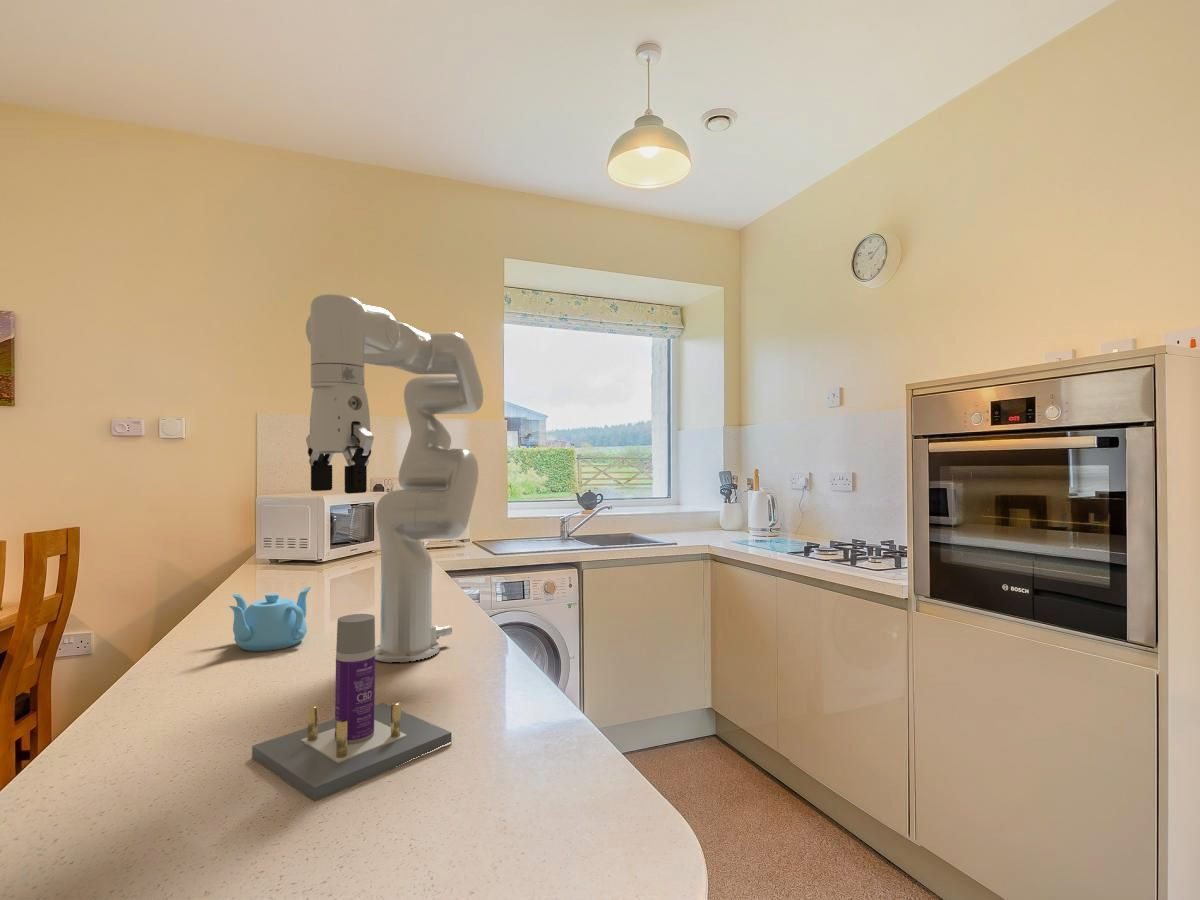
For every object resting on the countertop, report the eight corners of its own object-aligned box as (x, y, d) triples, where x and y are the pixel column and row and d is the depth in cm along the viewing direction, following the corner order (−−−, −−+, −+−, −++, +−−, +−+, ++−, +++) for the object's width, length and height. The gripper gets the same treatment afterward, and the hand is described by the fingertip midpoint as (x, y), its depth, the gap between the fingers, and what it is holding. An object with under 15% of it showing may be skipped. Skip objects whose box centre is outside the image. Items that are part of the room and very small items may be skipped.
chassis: (383, 713, 90) (383, 701, 91) (451, 744, 80) (451, 730, 80) (251, 757, 77) (252, 744, 77) (314, 801, 66) (314, 785, 66)
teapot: (310, 650, 123) (311, 598, 123) (221, 659, 116) (223, 604, 116) (310, 632, 136) (311, 585, 136) (230, 640, 129) (232, 590, 130)
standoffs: (367, 718, 84) (367, 688, 85) (402, 735, 79) (402, 703, 79) (305, 739, 78) (305, 707, 78) (339, 759, 73) (339, 724, 73)
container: (360, 746, 76) (362, 623, 76) (326, 742, 77) (328, 621, 77) (381, 730, 81) (382, 614, 81) (349, 727, 81) (350, 612, 82)
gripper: (392, 377, 92) (393, 492, 92) (331, 384, 102) (332, 488, 102) (345, 372, 86) (345, 495, 86) (285, 381, 96) (285, 490, 96)
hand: (338, 491), depth 94 cm, fingers open, 9 cm apart
